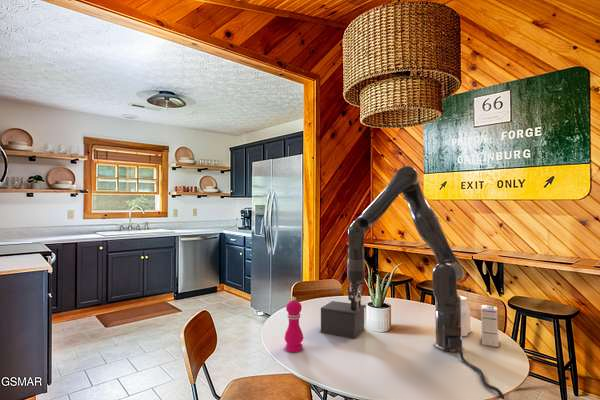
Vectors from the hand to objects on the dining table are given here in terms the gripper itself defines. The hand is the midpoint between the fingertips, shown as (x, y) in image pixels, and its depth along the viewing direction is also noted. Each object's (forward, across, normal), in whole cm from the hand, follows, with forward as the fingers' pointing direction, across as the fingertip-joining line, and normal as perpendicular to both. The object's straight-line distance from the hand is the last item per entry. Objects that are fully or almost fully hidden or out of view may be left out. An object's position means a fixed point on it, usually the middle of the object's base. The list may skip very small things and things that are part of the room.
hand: (355, 307), depth 151 cm
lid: (+1, 0, +6) cm, 6 cm away
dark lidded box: (+11, 0, +6) cm, 13 cm away
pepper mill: (+11, -28, +15) cm, 33 cm away
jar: (+11, +23, -38) cm, 46 cm away
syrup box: (+11, +14, -51) cm, 54 cm away
